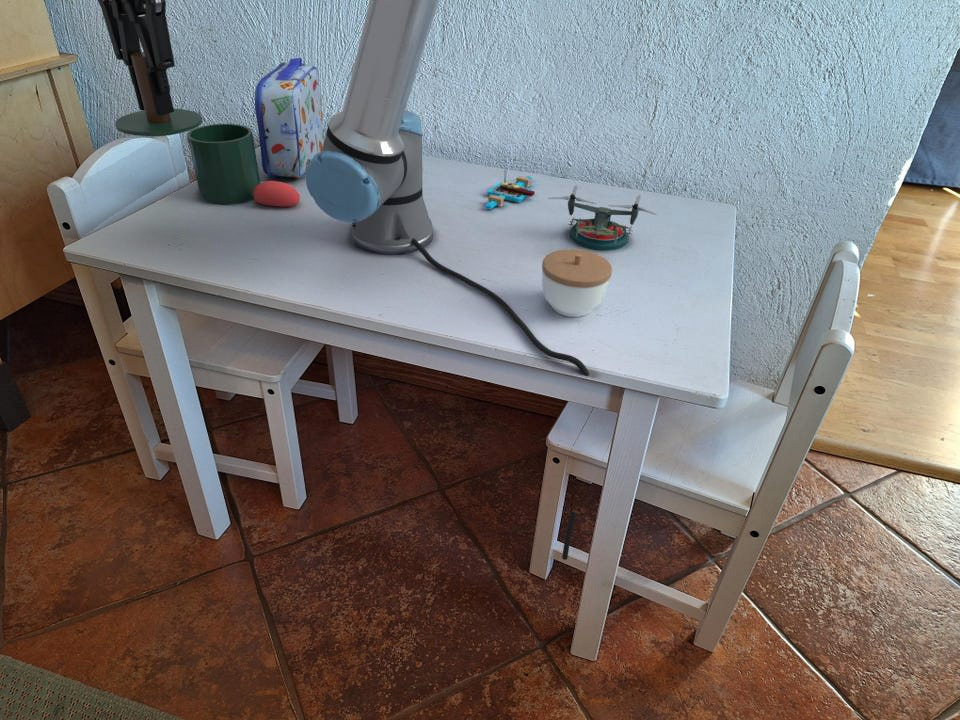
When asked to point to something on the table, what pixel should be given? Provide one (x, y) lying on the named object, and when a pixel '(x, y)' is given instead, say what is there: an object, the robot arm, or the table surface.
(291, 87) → the lunch box
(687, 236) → the table surface
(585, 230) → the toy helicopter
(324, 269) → the table surface
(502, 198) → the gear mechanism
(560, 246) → the table surface
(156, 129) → the canister lid
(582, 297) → the trinket box
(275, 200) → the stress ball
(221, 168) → the canister
